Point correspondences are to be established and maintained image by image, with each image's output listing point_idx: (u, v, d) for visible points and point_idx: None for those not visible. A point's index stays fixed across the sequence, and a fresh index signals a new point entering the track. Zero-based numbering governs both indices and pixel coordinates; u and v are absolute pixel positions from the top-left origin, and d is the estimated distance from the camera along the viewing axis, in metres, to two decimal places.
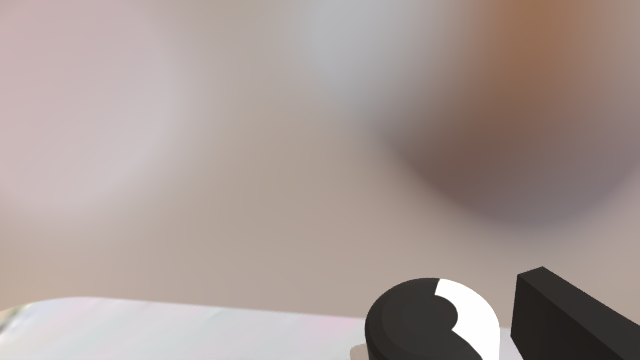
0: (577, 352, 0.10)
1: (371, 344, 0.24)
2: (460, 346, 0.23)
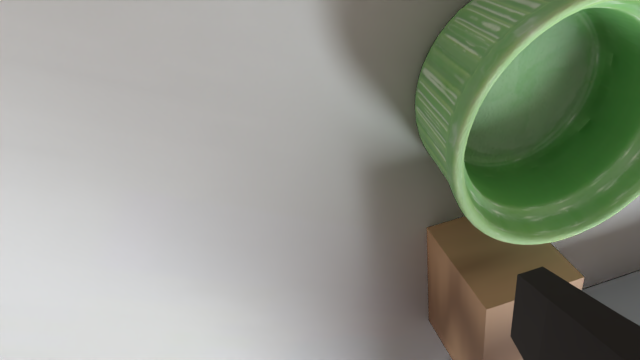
0: (578, 352, 0.10)
1: None
2: None
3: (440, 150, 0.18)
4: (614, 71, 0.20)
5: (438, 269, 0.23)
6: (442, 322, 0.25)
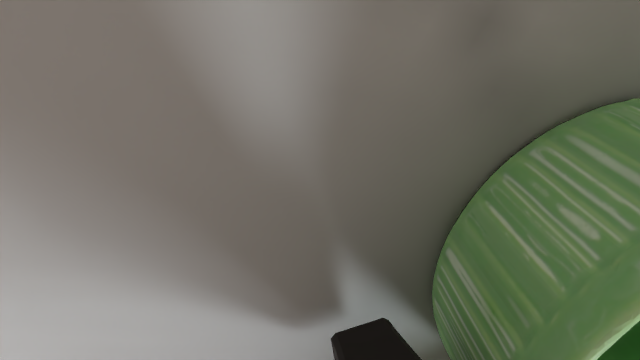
0: None
1: None
2: None
3: None
4: None
5: None
6: None
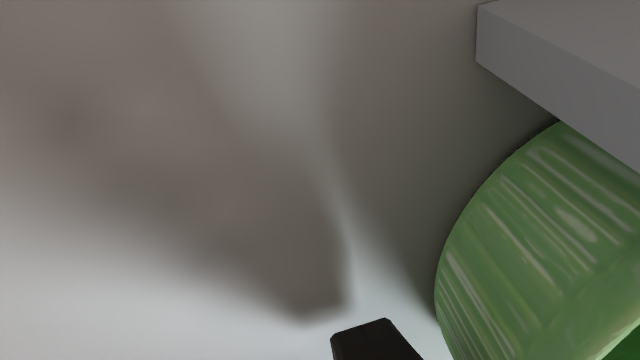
0: None
1: None
2: None
3: None
4: None
5: None
6: None
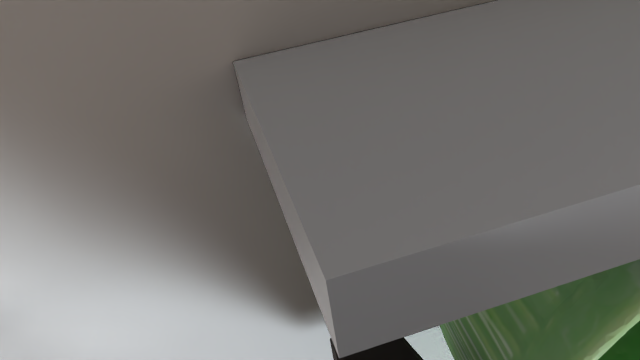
0: None
1: None
2: None
3: None
4: None
5: None
6: None
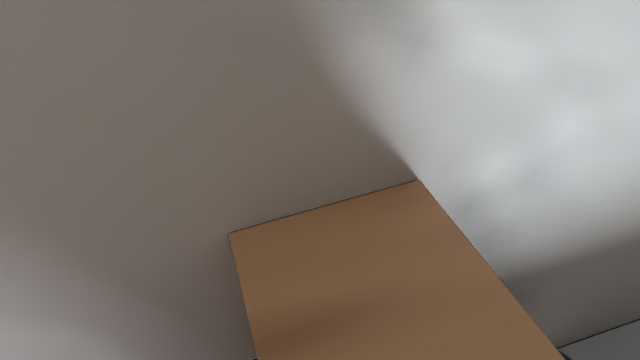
0: None
1: None
2: None
3: None
4: None
5: None
6: None
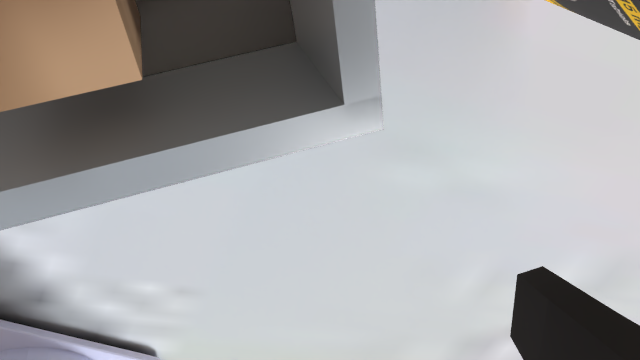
0: (577, 352, 0.10)
1: None
2: None
3: None
4: None
5: None
6: None
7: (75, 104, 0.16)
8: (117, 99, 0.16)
